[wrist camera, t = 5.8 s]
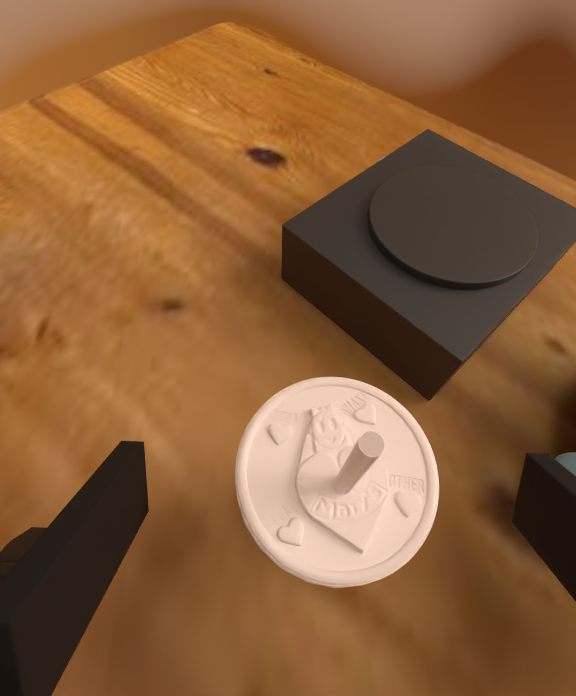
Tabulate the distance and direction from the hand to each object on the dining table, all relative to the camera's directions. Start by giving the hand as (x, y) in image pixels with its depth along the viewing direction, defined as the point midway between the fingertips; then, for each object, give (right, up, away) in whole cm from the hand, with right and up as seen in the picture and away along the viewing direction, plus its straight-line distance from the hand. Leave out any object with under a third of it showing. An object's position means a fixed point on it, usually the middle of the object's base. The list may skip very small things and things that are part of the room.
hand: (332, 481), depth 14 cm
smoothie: (0, -4, +7) cm, 8 cm away
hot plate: (+8, +10, +15) cm, 20 cm away
